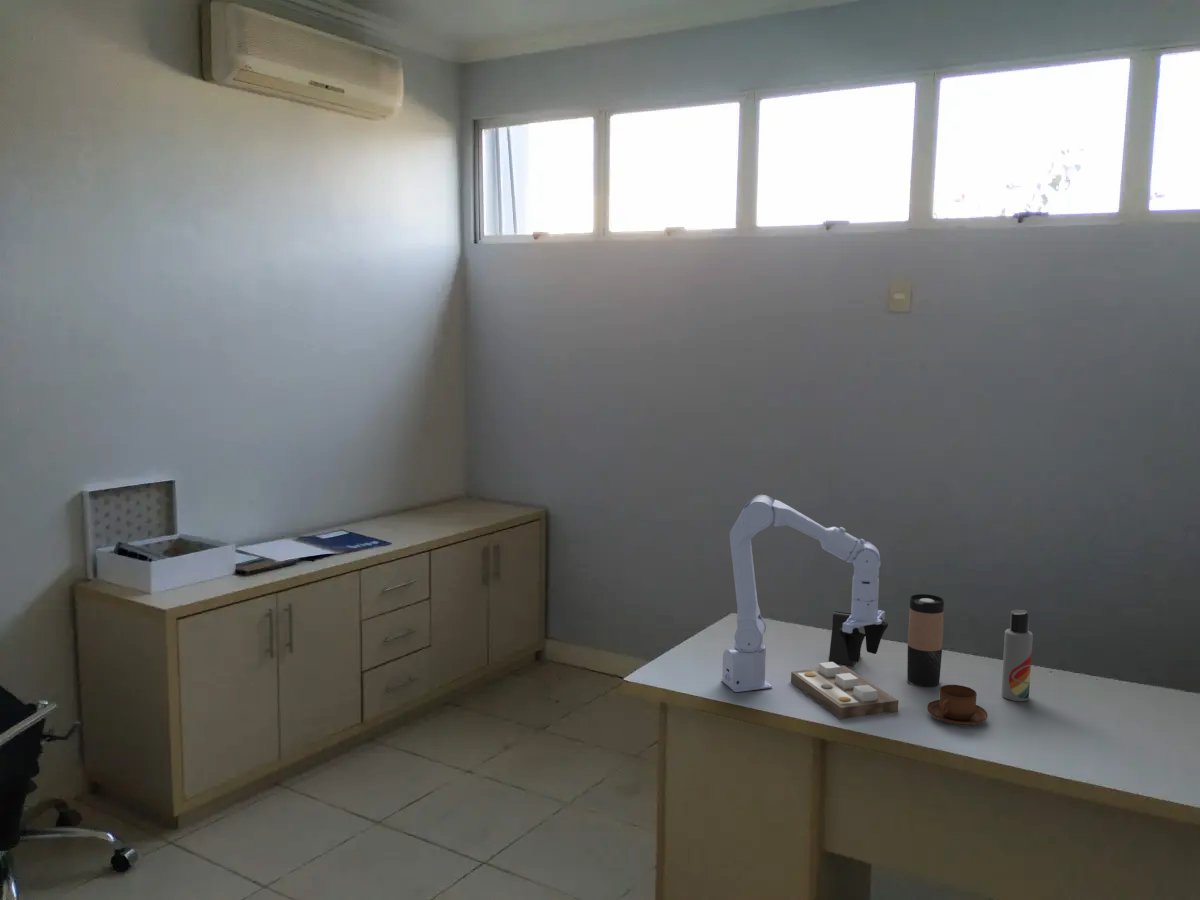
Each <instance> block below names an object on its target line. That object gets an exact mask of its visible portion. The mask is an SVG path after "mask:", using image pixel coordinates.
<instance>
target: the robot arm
mask: <svg viewBox="0 0 1200 900" xmlns="http://www.w3.org/2000/svg"><path fill="white" fill-rule="evenodd" d="M772 522H773V524H774V525H773V527H774V528H775V527H776V528H777V527H784V526H788V527H790V528H793V529H794V530H797V531H798V532H801V533H803V534H804V535H806V536H809V537H811V538H813V539H815V540H816V541H819V543H820V545H821V549H822V550H824V551H826V552H828V553H829V554H831V555H833V556H834V557H837V558H838V559H841V560H843V561H844V562H846V563H848V564H849V563H850V564H852V565H853V575H852V579H851V580H852V582H851V605H850V606H851V608H850V609H851V611H850V613H851V615H850V617H849V618H848V619H847V621H846V622H844V623H843V628H840V635H841V636H842V638H843V640H844V643H845V646H846V649H847V654H848V658H849V660H850V661H854V662H856V663H858V662H859V661H860V658H861V650H862V645H863V642H864V639H865V649H866V652H867V653H871V654H872V655H876V654H877V652H878V650H879V646H880V644H881V640H882V637H883V635H884V633H885V631H886V630H887V629H888V626H889V625H888V624H889V623H888V622H886V621H884V620H885V619H886V611H884V610H881V609H879V595H880V594H879V591H880V588H879V587H880V579H879V575H880V568H881V565H882V562H881V557H880V556H881V555H880V551H879V550H878V548H877V546H875V545H874V544H873V543H872V542H871V541H866V540H865V539H863V538H860V539H859V538H858V537H855V536H853V535H852V534H850V533H848V532H846V530H847V529H846V528H844V527H842V526H840V527H837V526H830V527H825V526H824V525H821V524H820V523H818V522H816V521H814V520H813V519H812V518H810V517H808V516H807V515H805V514H803V513H801V512H800V511H798V510H796V509H795V508H793V507H791V506H789V505H787V504H785V503H784V502H783V501H780V500H778V499H773V498H772V497H770V496H768V495H766V494H758V495H755V496H754V497H753V498H751V500H749V501H748V502H747V503H746V504H745V505H744V506H743V508H742V511H741V512H740V514H739V516H738V517H737V519H736V521H735V522H734V524H733V526H732V527H731V529H730V531H729V544H730V552H731V561H732V563H731V564H732V571H733V580H734V589H735V599H736V607H737V613H736V614H737V615H736V625H737V627H736V630H735V633H734V646H732V647H731V648H728V649H725V650H724V651H723V654H722V677H721V678H720V680H721V681H722V683H724V684H725V685H726V686H727V687H728V688H729V689H731V690H732V691H733V692H735V693H739V692H741V693H742V692H747V691H748V692H749V691H757V690H764V689H766V690H767V689H771V688H773V685H772V684H770V683H769V682H768V681H767V680H766V655H767V654H766V652H767V651H766V649H767V646H766V645H767V644H765V642H764V641H763V639H764V635H765V633H766V628H767V625H766V622H765V620H764V619H763V617H762V616H761V615H762V614H761V609H760V607H759V602H758V593H757V583H756V575H755V573H756V572H755V564H754V557H753V546H752V539H753V538H754V537H755V536H756V535H757V533H758V532H761V531H763V530H765V529H766V528H768V527H769V526H770V525H771V524H772ZM858 628H859V629H860V628H863V629H864V633H863V632H860V630H859V631H858Z"/></svg>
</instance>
